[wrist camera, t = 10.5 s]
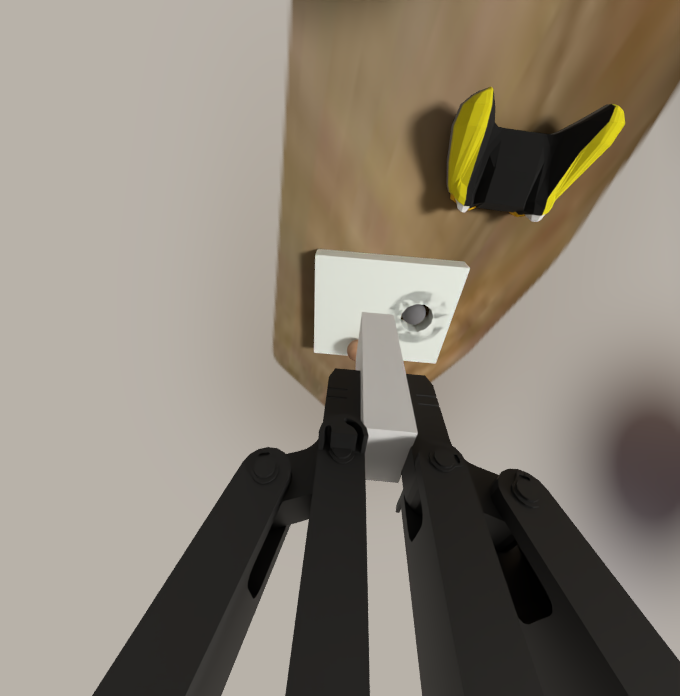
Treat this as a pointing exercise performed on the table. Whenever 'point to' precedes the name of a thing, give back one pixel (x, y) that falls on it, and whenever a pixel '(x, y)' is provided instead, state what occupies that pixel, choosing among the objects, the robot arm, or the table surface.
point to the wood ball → (352, 349)
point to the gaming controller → (520, 158)
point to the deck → (384, 299)
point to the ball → (414, 314)
